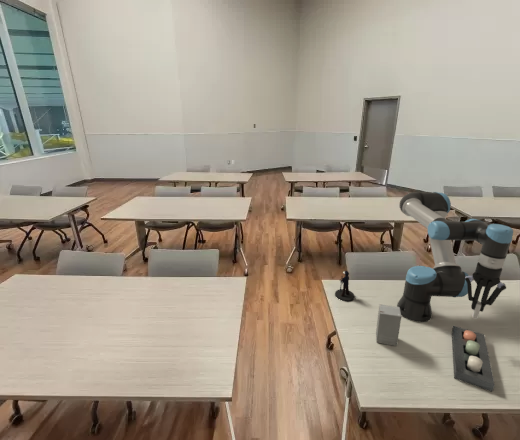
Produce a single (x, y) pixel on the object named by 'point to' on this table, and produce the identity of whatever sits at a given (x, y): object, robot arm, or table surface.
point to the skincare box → (388, 324)
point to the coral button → (469, 335)
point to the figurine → (342, 293)
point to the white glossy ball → (474, 363)
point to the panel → (461, 358)
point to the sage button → (472, 347)
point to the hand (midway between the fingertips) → (474, 316)
